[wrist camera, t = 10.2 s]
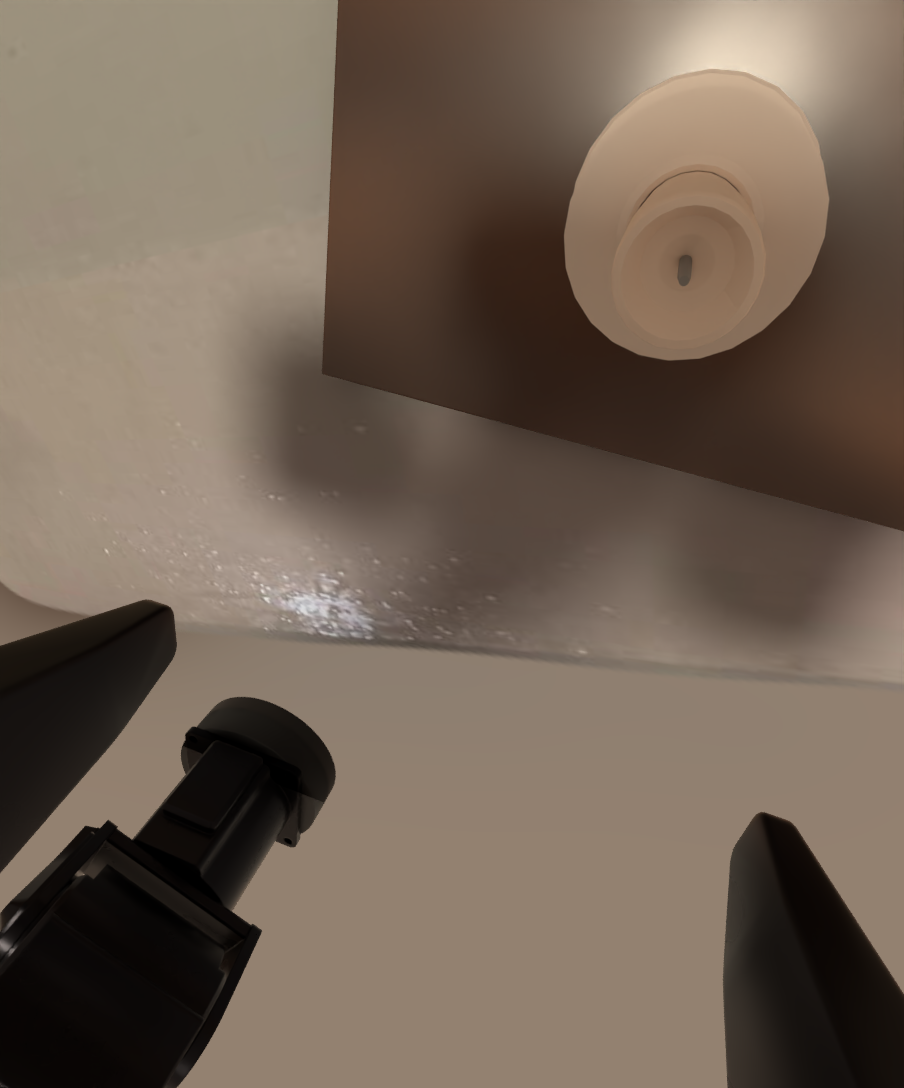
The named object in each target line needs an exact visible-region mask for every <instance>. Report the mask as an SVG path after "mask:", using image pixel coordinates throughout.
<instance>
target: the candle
mask: <svg viewBox="0 0 904 1088" xmlns="http://www.w3.org/2000/svg"><path fill="white" fill-rule="evenodd" d="M828 205H829V195H828V188H827V182H826V176H825V170H824V164H823V160H822V158H821V154H820V148H819V142H818V140H817V138H816V136H815V134H814V132H813V130H812V128H811V126H810V124H809V122H808V120H807V118H806V116H805V114H804V112H803V110H802V109H801V108H799V107H798V106H797V105H796V104H795V103H794V102H793V101H792V100H791V99H790V98H789V97H788V96H787V95H786V94H785V93H784V92H783V91H782V90H781V89H780V88H779V87H778V86H776V85H774V84H771V83H769V82H767V81H765V80H763V79H760V78H758V77H756V76H754V75H752V74H749V73H747V72H741V71H730V70H720V69H706V70H701V71H696V72H692V73H687V74H682V75H677V76H674V77H672V78H670V79H668V80H666V81H664V82H662V83H660V84H658V85H656V86H654V87H652V88H650V89H648V90H646V91H644V92H642V93H640V94H639V95H638V96H637V97H636V98H635V99H634V100H632V101H631V102H630V103H629V104H628V105H627V106H625V107H624V108H623V109H622V110H621V111H620V112H619V113H617V114H616V115H615V116H614V117H613V118H612V119H611V120H610V122H609V123H608V124H607V126H606V127H605V129H604V130H603V131H602V133H601V134H600V135H599V137H598V138H597V140H596V141H595V142H594V144H593V145H592V146H591V148H590V150H589V152H588V154H587V157H586V159H585V161H584V164H583V166H582V168H581V170H580V173H579V175H578V177H577V180H576V182H575V188H574V193H573V195H572V197H571V200H570V204H569V210H568V215H567V221H566V226H565V232H564V246H565V264H566V270H567V274H568V277H569V280H570V283H571V286H572V289H573V293H574V296H575V298H576V300H577V301H578V303H579V305H580V306H581V308H582V309H583V311H584V312H585V314H586V316H587V317H588V319H589V320H590V322H591V323H592V324H593V325H594V326H595V327H596V328H598V329H599V330H600V331H601V332H602V333H603V334H604V335H605V336H607V337H608V338H609V339H610V340H611V341H612V342H614V343H616V344H618V345H620V346H622V347H624V348H626V349H628V350H630V351H632V352H634V353H636V354H638V355H642V356H647V357H652V358H658V359H663V360H668V361H670V360H685V359H700V358H703V357H706V356H710V355H713V354H716V353H719V352H722V351H725V350H729V349H732V348H734V347H735V346H737V345H739V344H740V343H742V342H744V341H745V340H747V339H749V338H751V337H752V336H754V335H756V334H757V333H759V332H761V331H762V330H763V329H765V328H766V327H767V326H768V325H769V324H770V323H771V322H772V321H773V320H774V319H775V318H776V317H777V316H778V315H779V314H780V313H782V312H783V311H784V310H785V309H786V308H787V307H788V306H789V305H790V304H791V302H792V301H793V299H794V298H795V296H796V295H797V293H798V292H799V290H800V289H801V287H802V286H803V284H804V283H805V281H806V280H807V278H808V277H809V275H810V274H811V272H812V269H813V267H814V264H815V261H816V259H817V256H818V254H819V251H820V248H821V246H822V243H823V240H824V238H825V231H826V222H827V213H828Z"/></svg>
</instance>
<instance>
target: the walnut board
mask: <svg viewBox="0 0 904 1088" xmlns="http://www.w3.org/2000/svg"><path fill="white" fill-rule="evenodd" d="M706 69H720V70H730V71H741V72H747V73H749V74H752V75H754V76H756V77H758V78H760V79H763V80H765V81H767V82H769V83H771V84H774V85H776V86H778V87H779V88H780V89H781V90H782V91H783V92H784V93H785V94H786V95H787V96H788V97H789V98H790V99H791V100H792V101H793V102H794V103H795V104H796V105H797V106H798V107H799V108H801V109H802V110H803V112H804V114H805V116H806V118H807V120H808V122H809V124H810V126H811V128H812V130H813V132H814V134H815V136H816V138H817V140H818V142H819V148H820V154H821V158H822V160H823V164H824V170H825V176H826V182H827V188H828V195H829V205H828V213H827V222H826V231H825V238H824V240H823V243H822V246H821V248H820V251H819V254H818V256H817V259H816V261H815V264H814V267H813V269H812V272H811V274H810V275H809V277H808V278H807V280H806V281H805V283H804V284H803V286H802V287H801V289H800V290H799V292H798V293H797V295H796V296H795V298H794V299H793V301H792V302H791V304H790V305H789V306H788V307H787V308H786V309H785V310H784V311H783V312H782V313H780V314H779V315H778V316H777V317H776V318H775V319H774V320H773V321H772V322H771V323H770V324H769V325H768V326H767V327H766V328H765V329H763V330H762V331H761V332H759V333H757V334H756V335H754V336H752V337H751V338H749V339H747V340H745V341H744V342H742V343H740V344H739V345H737V346H735V347H734V348H732V349H729V350H725V351H722V352H719V353H716V354H713V355H710V356H706V357H703V358H700V359H685V360H670V361H668V360H663V359H658V358H652V357H647V356H642V355H638V354H636V353H634V352H632V351H630V350H628V349H626V348H624V347H622V346H620V345H618V344H616V343H614V342H612V341H611V340H610V339H609V338H608V337H607V336H605V335H604V334H603V333H602V332H601V331H600V330H599V329H598V328H596V327H595V326H594V325H593V324H592V323H591V322H590V320H589V319H588V317H587V316H586V314H585V312H584V311H583V309H582V308H581V306H580V305H579V303H578V301H577V300H576V298H575V296H574V293H573V289H572V286H571V283H570V280H569V277H568V274H567V270H566V264H565V246H564V232H565V226H566V221H567V215H568V210H569V204H570V200H571V197H572V195H573V193H574V188H575V182H576V180H577V177H578V175H579V173H580V170H581V168H582V166H583V164H584V161H585V159H586V157H587V154H588V152H589V150H590V148H591V146H592V145H593V144H594V142H595V141H596V140H597V138H598V137H599V135H600V134H601V133H602V131H603V130H604V129H605V127H606V126H607V124H608V123H609V122H610V120H611V119H612V118H613V117H614V116H615V115H616V114H617V113H619V112H620V111H621V110H622V109H623V108H624V107H625V106H627V105H628V104H629V103H630V102H631V101H632V100H634V99H635V98H636V97H637V96H638V95H639V94H640V93H642V92H644V91H646V90H648V89H650V88H652V87H654V86H656V85H658V84H660V83H662V82H664V81H666V80H668V79H670V78H672V77H674V76H677V75H682V74H687V73H692V72H696V71H701V70H706ZM322 374H325V375H328V376H332V377H336V378H340V379H343V380H347V381H351V382H354V383H358V384H362V385H365V386H369V387H373V388H376V389H380V390H384V391H388V392H391V393H395V394H399V395H402V396H406V397H410V398H413V399H417V400H421V401H425V402H428V403H432V404H436V405H439V406H443V407H447V408H450V409H454V410H458V411H462V412H465V413H469V414H473V415H476V416H480V417H484V418H487V419H491V420H495V421H498V422H502V423H506V424H510V425H513V426H517V427H521V428H524V429H528V430H532V431H535V432H539V433H543V434H547V435H550V436H554V437H558V438H561V439H565V440H569V441H572V442H576V443H580V444H584V445H587V446H591V447H595V448H598V449H602V450H606V451H609V452H613V453H617V454H620V455H624V456H628V457H632V458H635V459H639V460H643V461H646V462H650V463H654V464H657V465H661V466H665V467H669V468H672V469H676V470H680V471H683V472H687V473H691V474H694V475H698V476H702V477H706V478H709V479H713V480H717V481H720V482H724V483H728V484H731V485H735V486H739V487H742V488H746V489H750V490H754V491H757V492H761V493H765V494H768V495H772V496H776V497H779V498H783V499H787V500H791V501H794V502H798V503H802V504H805V505H809V506H813V507H816V508H820V509H824V510H827V511H831V512H835V513H839V514H842V515H846V516H850V517H853V518H857V519H861V520H864V521H868V522H872V523H876V524H879V525H883V526H887V527H890V528H894V529H898V530H901V531H904V0H338V18H337V41H336V64H335V87H334V110H333V133H332V156H331V179H330V202H329V225H328V248H327V271H326V294H325V317H324V340H323V363H322Z"/></svg>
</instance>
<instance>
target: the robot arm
mask: <svg viewBox="0 0 904 1088" xmlns="http://www.w3.org/2000/svg"><path fill="white" fill-rule="evenodd" d="M176 647H177V642H176V632H175V621H174V613H173V611H172V609H171V607H169V606H167V605H164V604H161V603H158V602H155V601H153V600H142V601H138V602H135V603H132V604H129V605H126V606H123V607H120V608H117V609H114V610H110V611H107V612H104V613H101V614H98V615H95V616H92V617H89V618H86V619H83V620H79V621H76V622H73V623H70V624H67V625H64V626H61V627H58V628H54V629H51V630H48V631H45V632H42V633H39V634H36V635H33V636H29V637H27V638H23V639H20V640H17V641H14V642H11V643H8V644H5V645H1V646H0V872H1V871H2V870H3V869H4V868H5V867H6V866H7V865H8V863H9V862H10V861H11V860H12V859H13V858H14V856H15V855H16V854H17V853H18V852H19V851H20V850H21V848H22V847H23V846H24V845H25V844H26V843H27V842H28V840H29V839H30V838H31V837H32V836H33V835H34V833H35V832H36V831H37V830H38V829H39V828H40V826H41V825H42V824H43V823H44V822H45V821H46V820H47V818H48V817H49V816H50V815H51V814H52V813H53V811H54V810H55V809H56V808H57V807H58V805H59V804H60V803H61V802H62V801H63V800H64V799H65V798H66V797H67V795H68V794H69V793H70V792H71V791H72V790H73V788H74V787H75V786H76V785H77V784H78V783H79V781H80V780H81V779H82V778H83V777H84V776H85V775H86V773H87V772H88V771H89V770H90V769H91V767H92V766H93V765H94V764H95V763H96V762H97V761H98V760H99V758H100V757H101V756H102V755H103V754H104V753H105V752H106V750H107V749H108V748H109V747H110V745H111V744H112V743H113V742H114V741H115V739H116V738H117V737H118V735H119V734H120V733H121V732H122V730H123V729H124V728H125V726H126V725H127V723H128V722H129V720H130V719H131V718H132V716H133V715H134V713H135V712H136V711H137V709H138V708H139V706H140V705H141V704H142V702H143V701H144V699H145V698H146V696H147V695H148V694H149V692H150V691H151V689H152V688H153V687H154V685H155V684H156V682H157V681H158V679H159V678H160V677H161V675H162V674H163V672H164V671H165V670H166V668H167V667H168V665H169V664H170V662H171V661H172V659H173V657H174V655H175V652H176ZM185 741H186V750H187V759H188V768H189V771H188V773H187V774H186V775H185V776H184V777H183V779H182V780H181V781H180V782H179V783H178V785H177V786H176V787H175V788H174V790H173V791H172V792H171V793H170V794H169V796H168V797H167V798H166V799H165V800H164V802H163V803H162V804H161V806H160V807H159V808H158V809H157V810H156V811H155V813H154V814H153V815H152V816H151V817H150V819H149V820H148V821H147V822H146V824H145V825H144V826H143V827H142V828H141V830H140V831H139V832H138V834H136V836H135V837H134V838H133V839H132V840H131V839H130V838H129V837H127V836H126V835H125V834H123V833H122V832H120V831H119V830H118V829H117V827H118V826H116V825H115V824H113V823H112V822H111V821H109V820H108V821H107V822H106V823H105V824H104V825H103V826H102V827H101V828H94V827H89V826H85V827H84V828H83V829H82V830H81V831H80V832H79V834H78V835H77V836H76V837H75V838H74V839H73V840H72V841H71V842H70V843H69V844H68V846H67V847H66V848H65V849H64V850H63V851H62V852H61V853H60V854H59V855H58V856H57V857H56V858H55V859H54V861H52V862H51V863H50V864H49V865H48V866H47V867H46V868H45V869H44V870H43V871H42V872H41V873H40V874H39V875H38V876H37V877H35V878H34V879H33V880H32V881H31V882H30V883H29V884H28V885H27V886H26V887H25V888H24V889H23V890H22V891H21V892H20V893H19V894H18V895H17V896H16V897H15V898H14V899H12V901H10V903H9V904H8V905H7V906H6V907H5V908H4V909H3V910H2V912H1V913H0V1088H177V1086H178V1085H179V1084H180V1083H181V1082H182V1081H183V1079H184V1078H185V1077H186V1076H187V1074H188V1073H189V1071H190V1070H191V1069H192V1067H193V1066H194V1065H195V1063H196V1062H197V1060H198V1059H199V1057H200V1055H201V1054H202V1052H203V1051H204V1049H205V1047H206V1046H207V1044H208V1043H209V1041H210V1039H211V1037H212V1035H213V1034H214V1032H215V1030H216V1028H217V1026H218V1024H219V1023H220V1020H221V1019H222V1016H223V1015H224V1012H225V1010H226V1008H227V1006H228V1004H229V1002H230V999H231V997H232V995H233V993H234V991H235V989H236V986H237V984H238V982H239V980H240V978H241V976H242V974H243V971H244V969H245V967H246V965H247V963H248V961H249V958H250V956H251V954H252V952H253V950H254V947H255V945H256V943H257V941H258V939H259V937H260V935H261V932H262V930H261V929H259V928H258V927H257V926H255V925H254V924H252V925H250V924H248V923H247V922H246V921H244V920H243V919H241V918H240V917H239V916H237V915H236V914H235V913H233V912H232V910H233V909H234V907H235V906H236V904H237V902H238V901H239V899H240V897H241V896H242V894H243V893H244V891H245V889H246V888H247V886H248V884H249V883H250V881H251V880H252V878H253V876H254V875H255V873H256V871H257V870H258V868H259V866H260V865H261V863H262V862H263V860H264V858H265V857H266V855H267V854H268V852H269V850H270V849H271V847H272V845H273V844H274V842H275V841H276V842H279V843H281V844H284V845H286V846H289V847H295V846H296V845H297V843H298V841H299V840H300V827H301V802H302V778H303V774H302V772H301V770H300V769H299V768H298V767H296V766H295V765H292V764H290V763H287V762H285V761H282V760H280V759H277V758H275V757H272V756H269V755H267V754H264V753H262V752H259V751H257V750H254V749H252V748H249V747H247V746H244V745H242V744H239V743H237V742H234V741H231V740H229V739H226V738H224V737H221V736H219V735H216V734H214V733H211V732H209V731H206V730H204V729H201V728H198V727H191V728H190V729H189V730H188V731H187V732H186V734H185ZM83 873H84V874H85V875H83ZM723 996H724V1020H725V1041H726V1062H727V1083H728V1084H727V1085H728V1088H904V994H903V992H902V991H901V989H900V988H899V986H898V984H897V983H896V981H895V980H894V978H893V977H892V975H891V974H890V972H889V971H888V969H887V967H886V966H885V964H884V963H883V961H882V960H881V958H880V957H879V955H878V953H877V952H876V950H875V949H874V948H873V946H872V944H871V943H870V941H869V940H868V938H867V937H866V935H865V933H864V932H863V930H862V929H861V927H860V926H859V924H858V923H857V921H856V919H855V918H854V916H853V915H852V913H851V912H850V910H849V909H848V907H847V905H846V904H845V902H844V901H843V899H842V898H841V896H840V895H839V893H838V892H837V890H836V889H835V887H834V885H833V884H832V882H831V881H830V879H829V878H828V876H827V875H826V873H825V871H824V870H823V868H822V867H821V865H820V864H819V862H818V861H817V859H816V857H815V856H814V854H813V853H812V851H811V850H810V848H809V847H808V845H807V844H806V842H805V841H804V839H803V837H802V836H801V834H800V833H799V831H798V830H797V828H796V827H795V826H794V825H793V824H792V823H791V822H790V821H788V820H785V819H782V818H779V817H776V816H774V815H771V814H768V813H765V812H760V813H758V814H756V816H755V817H754V818H753V819H752V821H751V822H750V824H749V825H748V827H747V828H746V830H745V831H744V833H743V834H742V836H741V837H740V839H739V840H738V842H737V843H736V845H735V847H734V849H733V852H732V856H731V861H730V874H729V888H728V905H727V919H726V934H725V949H724V968H723Z"/></svg>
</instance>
